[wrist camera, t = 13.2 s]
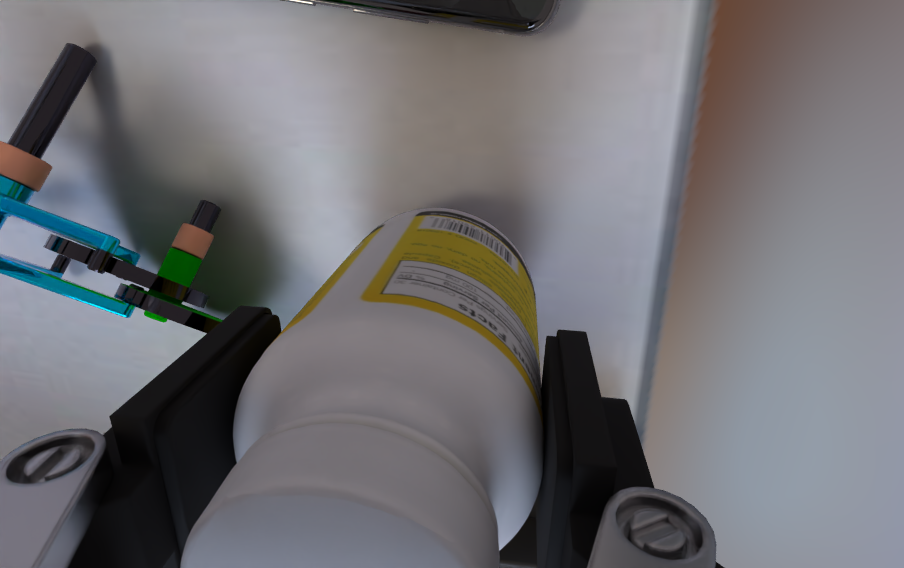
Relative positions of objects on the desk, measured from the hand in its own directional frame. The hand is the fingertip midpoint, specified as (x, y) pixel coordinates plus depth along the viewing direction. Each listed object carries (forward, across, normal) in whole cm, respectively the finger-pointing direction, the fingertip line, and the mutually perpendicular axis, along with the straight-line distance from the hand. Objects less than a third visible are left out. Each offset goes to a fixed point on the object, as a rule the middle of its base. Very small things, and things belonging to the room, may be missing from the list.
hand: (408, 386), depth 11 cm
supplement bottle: (+5, 0, 0) cm, 5 cm away
